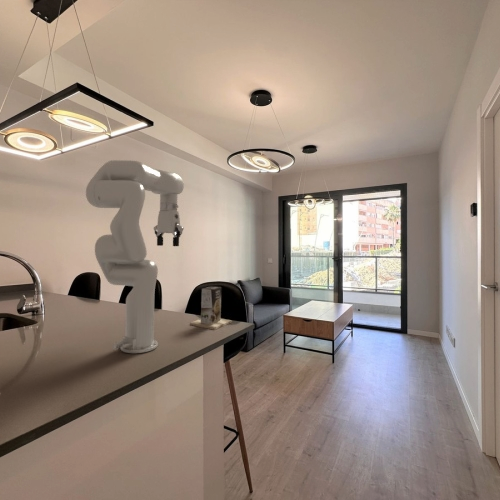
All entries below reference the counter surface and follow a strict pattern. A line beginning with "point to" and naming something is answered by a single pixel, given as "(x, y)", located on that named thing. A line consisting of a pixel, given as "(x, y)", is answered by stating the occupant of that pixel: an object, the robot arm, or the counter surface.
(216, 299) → the coffee box
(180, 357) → the counter surface
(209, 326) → the cream folded cloth
